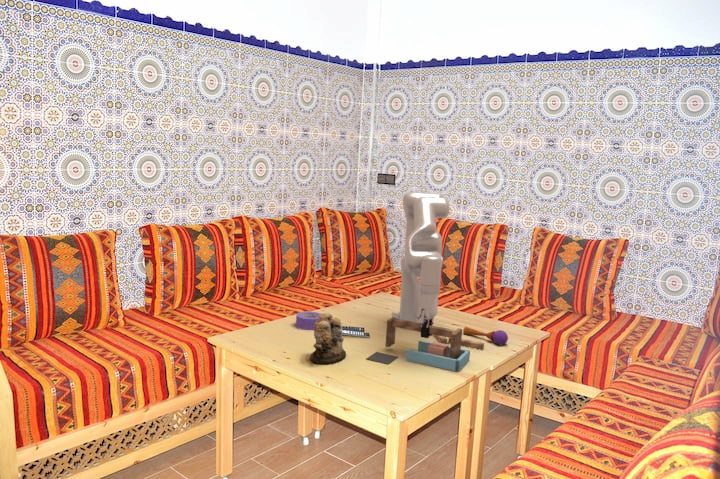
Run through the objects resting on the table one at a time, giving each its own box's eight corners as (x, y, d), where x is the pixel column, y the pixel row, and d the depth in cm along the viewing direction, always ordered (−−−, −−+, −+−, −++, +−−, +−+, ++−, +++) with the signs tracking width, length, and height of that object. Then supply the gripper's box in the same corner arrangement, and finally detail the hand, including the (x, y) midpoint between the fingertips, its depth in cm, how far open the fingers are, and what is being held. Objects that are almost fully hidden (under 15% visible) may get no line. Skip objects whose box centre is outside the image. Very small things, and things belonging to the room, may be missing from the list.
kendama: (470, 323, 251) (511, 331, 237) (468, 337, 251) (509, 346, 237) (462, 323, 247) (504, 331, 233) (460, 337, 247) (502, 346, 233)
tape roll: (323, 322, 255) (324, 311, 254) (322, 330, 243) (323, 319, 243) (296, 321, 254) (297, 310, 254) (294, 329, 243) (295, 318, 242)
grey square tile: (365, 359, 212) (366, 358, 212) (376, 352, 220) (376, 351, 220) (388, 364, 208) (388, 363, 208) (398, 357, 216) (398, 356, 216)
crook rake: (383, 347, 220) (385, 320, 218) (392, 341, 227) (394, 316, 225) (453, 362, 208) (455, 334, 206) (460, 356, 215) (462, 329, 213)
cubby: (405, 360, 213) (406, 349, 213) (418, 350, 225) (419, 340, 224) (458, 372, 204) (459, 361, 204) (469, 360, 216) (470, 350, 215)
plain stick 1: (447, 345, 234) (447, 339, 233) (441, 345, 233) (441, 339, 233) (437, 334, 247) (438, 328, 247) (432, 334, 247) (432, 328, 247)
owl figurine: (331, 368, 201) (333, 321, 199) (301, 362, 206) (302, 316, 203) (352, 353, 218) (354, 309, 215) (324, 348, 222) (325, 305, 220)
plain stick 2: (448, 344, 235) (448, 338, 235) (450, 342, 237) (450, 336, 237) (481, 350, 229) (482, 344, 229) (483, 349, 231) (484, 343, 231)
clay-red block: (426, 361, 213) (428, 345, 212) (432, 356, 219) (433, 341, 218) (442, 364, 211) (443, 349, 210) (447, 360, 216) (448, 344, 215)
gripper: (427, 283, 222) (424, 329, 224) (412, 291, 207) (408, 340, 210) (446, 286, 218) (442, 332, 221) (431, 294, 204) (428, 344, 207)
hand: (426, 336), depth 216 cm, fingers closed on crook rake, 2 cm apart
